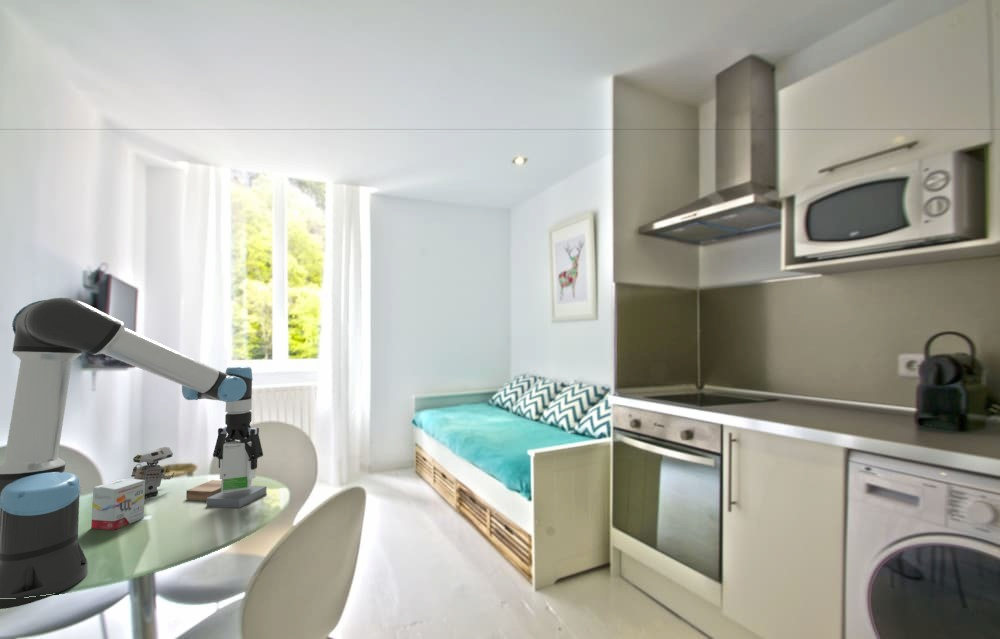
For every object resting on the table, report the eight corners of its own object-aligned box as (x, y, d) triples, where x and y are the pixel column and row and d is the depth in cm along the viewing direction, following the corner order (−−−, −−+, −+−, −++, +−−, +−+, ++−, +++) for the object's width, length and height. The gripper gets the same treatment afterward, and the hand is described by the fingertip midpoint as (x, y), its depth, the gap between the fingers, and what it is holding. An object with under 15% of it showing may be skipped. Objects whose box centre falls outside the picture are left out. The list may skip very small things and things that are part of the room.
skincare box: (220, 493, 132) (221, 445, 132) (224, 486, 138) (225, 440, 138) (250, 489, 135) (251, 442, 136) (253, 482, 141) (253, 437, 142)
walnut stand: (211, 500, 135) (212, 491, 136) (186, 499, 137) (186, 490, 137) (235, 489, 145) (236, 481, 145) (211, 488, 147) (211, 480, 147)
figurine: (177, 489, 146) (178, 448, 147) (136, 500, 137) (137, 455, 137) (168, 485, 151) (169, 444, 152) (128, 495, 142) (129, 452, 142)
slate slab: (239, 508, 129) (239, 500, 129) (206, 506, 131) (206, 498, 131) (266, 493, 141) (266, 486, 141) (236, 492, 143) (236, 484, 143)
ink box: (113, 530, 115) (114, 488, 115) (90, 528, 117) (91, 487, 117) (145, 517, 123) (146, 478, 124) (123, 515, 125) (124, 476, 126)
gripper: (275, 410, 139) (275, 475, 138) (219, 409, 143) (218, 473, 142) (259, 414, 132) (258, 483, 131) (200, 413, 136) (199, 480, 135)
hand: (237, 478), depth 136 cm, fingers closed on skincare box, 10 cm apart
